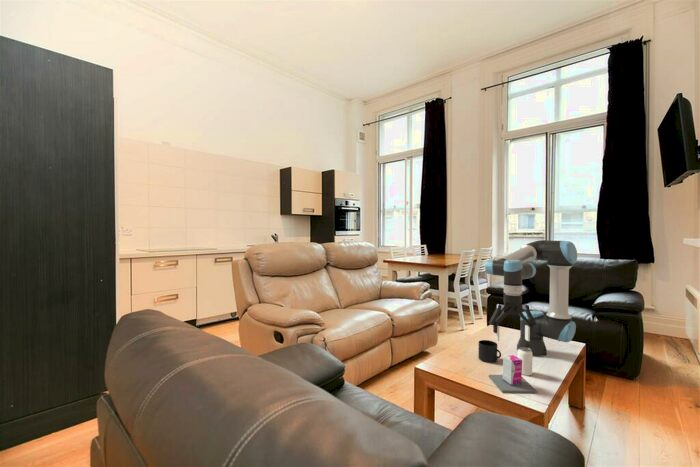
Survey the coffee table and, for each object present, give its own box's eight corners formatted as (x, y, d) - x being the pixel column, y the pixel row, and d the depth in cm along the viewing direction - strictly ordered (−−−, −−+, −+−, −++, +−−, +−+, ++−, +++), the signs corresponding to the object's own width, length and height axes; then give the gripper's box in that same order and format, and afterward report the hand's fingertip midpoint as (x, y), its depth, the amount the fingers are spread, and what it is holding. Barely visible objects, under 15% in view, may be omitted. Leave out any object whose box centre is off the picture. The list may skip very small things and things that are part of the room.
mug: (496, 366, 169) (496, 349, 168) (475, 358, 178) (475, 342, 178) (505, 361, 175) (505, 344, 174) (483, 354, 184) (484, 338, 184)
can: (527, 369, 164) (527, 346, 164) (535, 375, 158) (535, 351, 157) (514, 370, 164) (515, 346, 164) (522, 376, 158) (522, 351, 157)
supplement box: (510, 386, 146) (511, 360, 145) (502, 379, 151) (502, 355, 151) (522, 384, 147) (522, 359, 147) (513, 378, 153) (513, 354, 152)
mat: (520, 377, 156) (520, 375, 156) (537, 393, 141) (537, 390, 141) (488, 376, 157) (488, 374, 157) (502, 392, 142) (502, 390, 142)
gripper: (488, 295, 145) (487, 342, 145) (545, 295, 144) (544, 343, 145) (481, 292, 152) (481, 337, 153) (535, 292, 152) (535, 337, 152)
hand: (512, 340), depth 149 cm, fingers open, 13 cm apart
